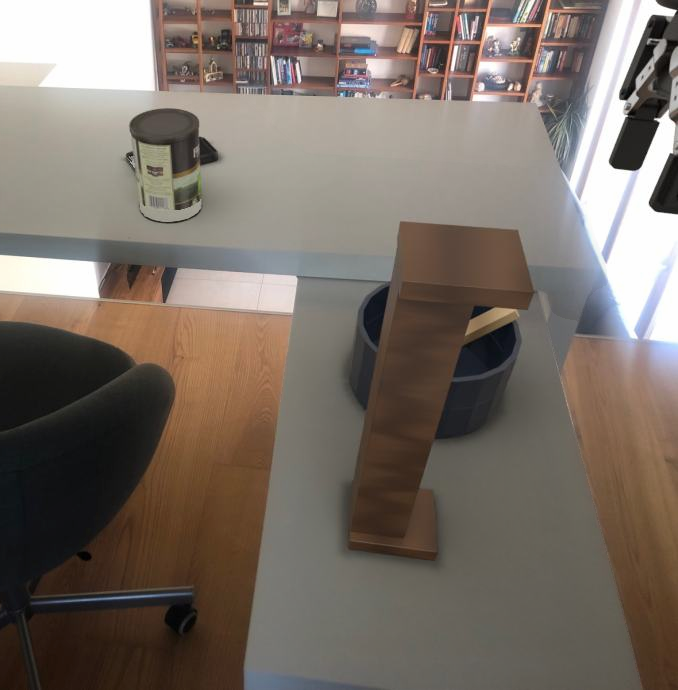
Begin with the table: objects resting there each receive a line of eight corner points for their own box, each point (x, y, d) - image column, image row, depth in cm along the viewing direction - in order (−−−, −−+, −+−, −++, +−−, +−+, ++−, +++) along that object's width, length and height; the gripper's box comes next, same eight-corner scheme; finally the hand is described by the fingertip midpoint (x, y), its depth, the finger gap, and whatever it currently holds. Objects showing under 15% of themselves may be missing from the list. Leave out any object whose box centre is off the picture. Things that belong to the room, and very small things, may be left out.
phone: (220, 153, 121) (138, 172, 117) (220, 159, 122) (139, 178, 117) (202, 135, 126) (124, 152, 122) (202, 141, 127) (124, 158, 123)
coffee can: (198, 186, 115) (195, 104, 106) (206, 220, 108) (203, 135, 98) (136, 192, 114) (127, 110, 105) (140, 226, 107) (130, 141, 97)
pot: (490, 340, 87) (509, 283, 80) (509, 447, 74) (533, 389, 68) (351, 327, 89) (359, 270, 83) (346, 428, 76) (356, 371, 70)
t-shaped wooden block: (408, 382, 81) (396, 370, 80) (404, 352, 84) (393, 341, 83) (523, 326, 73) (512, 313, 72) (513, 297, 77) (502, 283, 76)
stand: (430, 498, 70) (518, 229, 48) (434, 561, 65) (534, 292, 43) (350, 488, 71) (400, 220, 49) (348, 549, 66) (402, 280, 44)
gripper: (645, -86, 47) (562, 151, 56) (746, -78, 35) (620, 221, 44) (763, -76, 46) (660, 162, 55) (906, -65, 34) (745, 236, 43)
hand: (642, 188), depth 49 cm, fingers open, 8 cm apart
